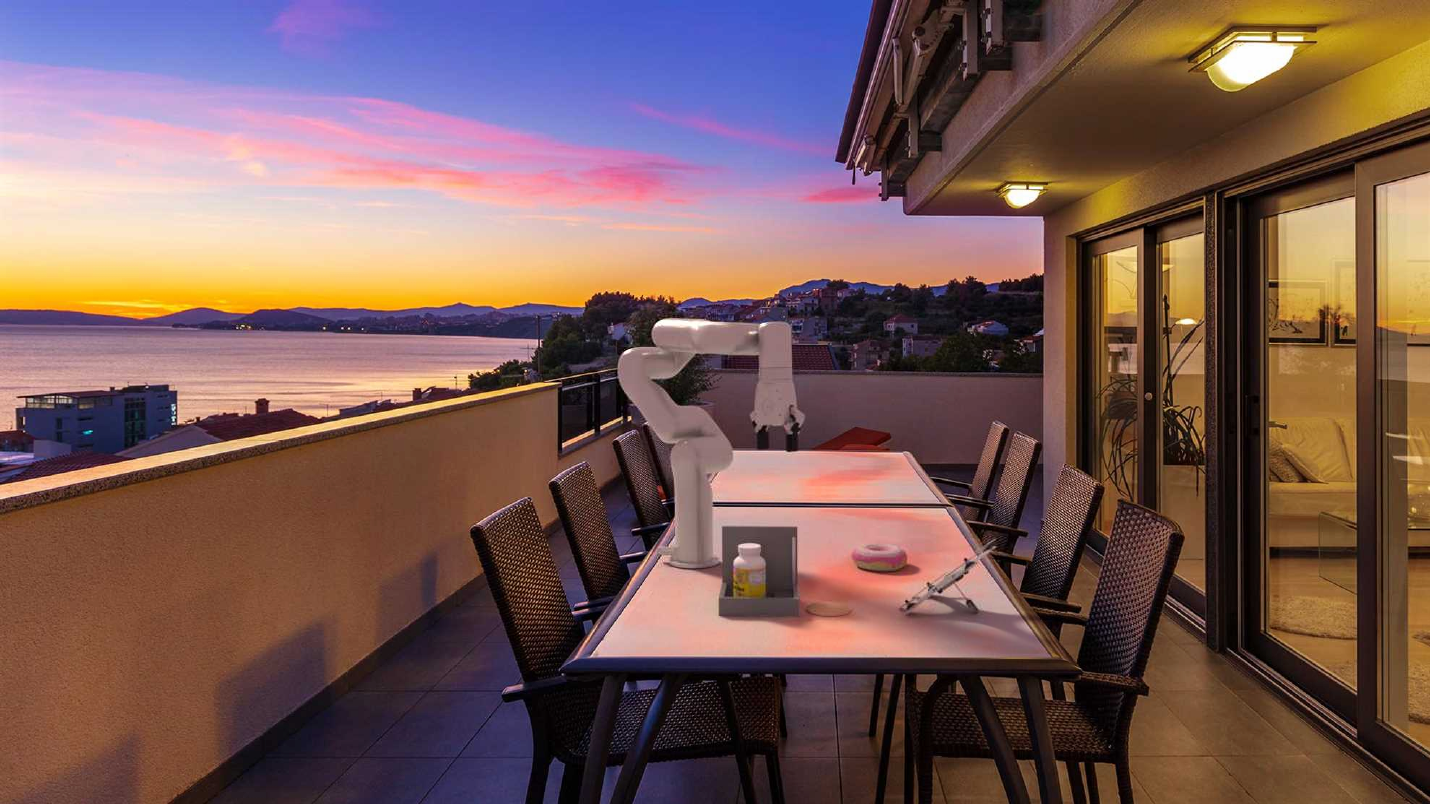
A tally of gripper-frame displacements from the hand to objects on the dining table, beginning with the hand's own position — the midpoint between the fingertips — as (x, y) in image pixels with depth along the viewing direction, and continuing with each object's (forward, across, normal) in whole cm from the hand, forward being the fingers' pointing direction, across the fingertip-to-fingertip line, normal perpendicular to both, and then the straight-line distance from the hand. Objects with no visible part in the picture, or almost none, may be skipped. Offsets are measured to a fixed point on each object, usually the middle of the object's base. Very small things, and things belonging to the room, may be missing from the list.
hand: (777, 450), depth 191 cm
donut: (+31, +6, +28) cm, 42 cm away
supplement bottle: (+31, +11, -19) cm, 38 cm away
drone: (+32, +38, +11) cm, 50 cm away
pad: (+31, +23, -8) cm, 39 cm away
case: (+30, +12, -18) cm, 37 cm away
